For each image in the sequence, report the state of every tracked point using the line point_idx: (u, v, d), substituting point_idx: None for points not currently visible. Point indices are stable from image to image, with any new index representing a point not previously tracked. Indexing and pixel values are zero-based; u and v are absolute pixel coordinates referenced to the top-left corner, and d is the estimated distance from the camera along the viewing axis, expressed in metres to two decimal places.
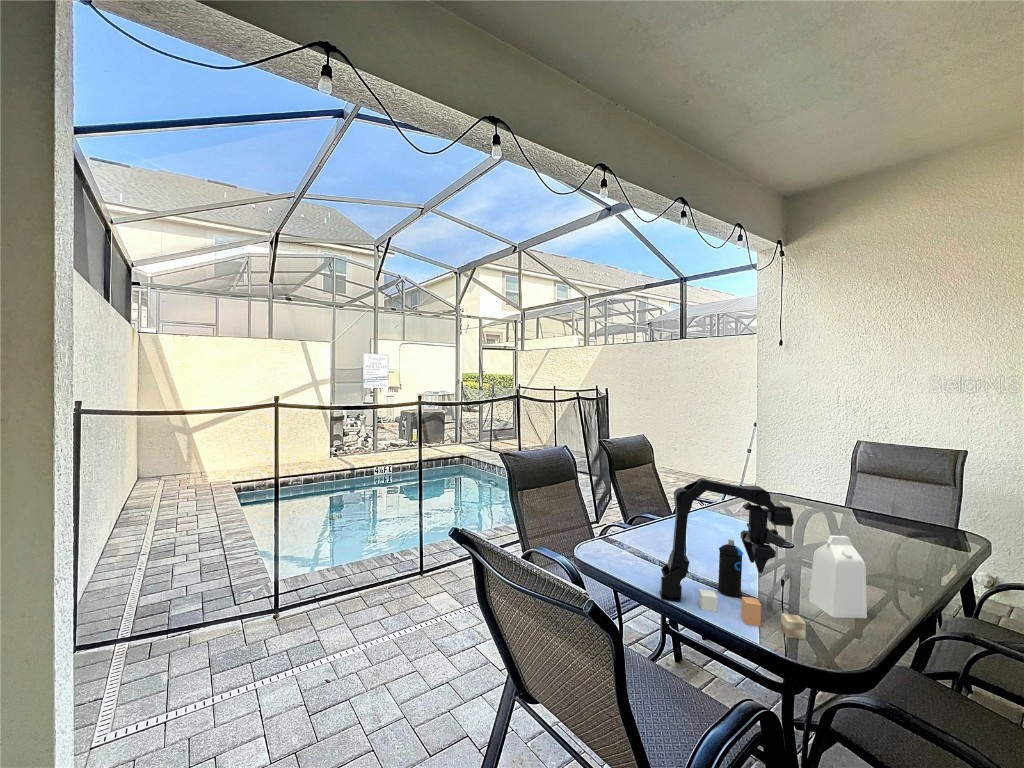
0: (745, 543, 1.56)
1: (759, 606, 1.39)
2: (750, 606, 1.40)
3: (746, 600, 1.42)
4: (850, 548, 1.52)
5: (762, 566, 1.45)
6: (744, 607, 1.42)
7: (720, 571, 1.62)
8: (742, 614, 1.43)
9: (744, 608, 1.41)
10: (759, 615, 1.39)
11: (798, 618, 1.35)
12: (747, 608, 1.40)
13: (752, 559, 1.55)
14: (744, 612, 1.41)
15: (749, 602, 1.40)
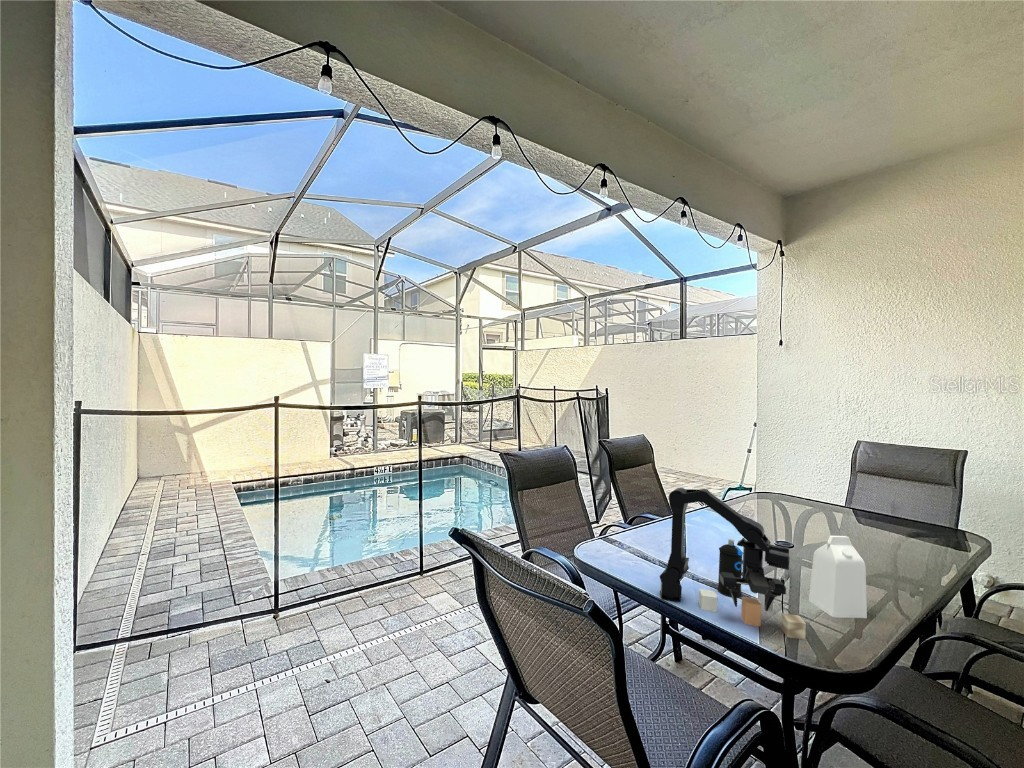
0: None
1: (759, 606, 1.39)
2: (750, 606, 1.40)
3: (746, 600, 1.42)
4: (850, 548, 1.52)
5: (733, 598, 1.43)
6: (744, 607, 1.42)
7: (720, 571, 1.62)
8: (742, 614, 1.43)
9: (744, 608, 1.41)
10: (759, 615, 1.39)
11: (798, 618, 1.35)
12: (747, 608, 1.40)
13: (765, 607, 1.41)
14: (744, 612, 1.41)
15: (749, 602, 1.40)
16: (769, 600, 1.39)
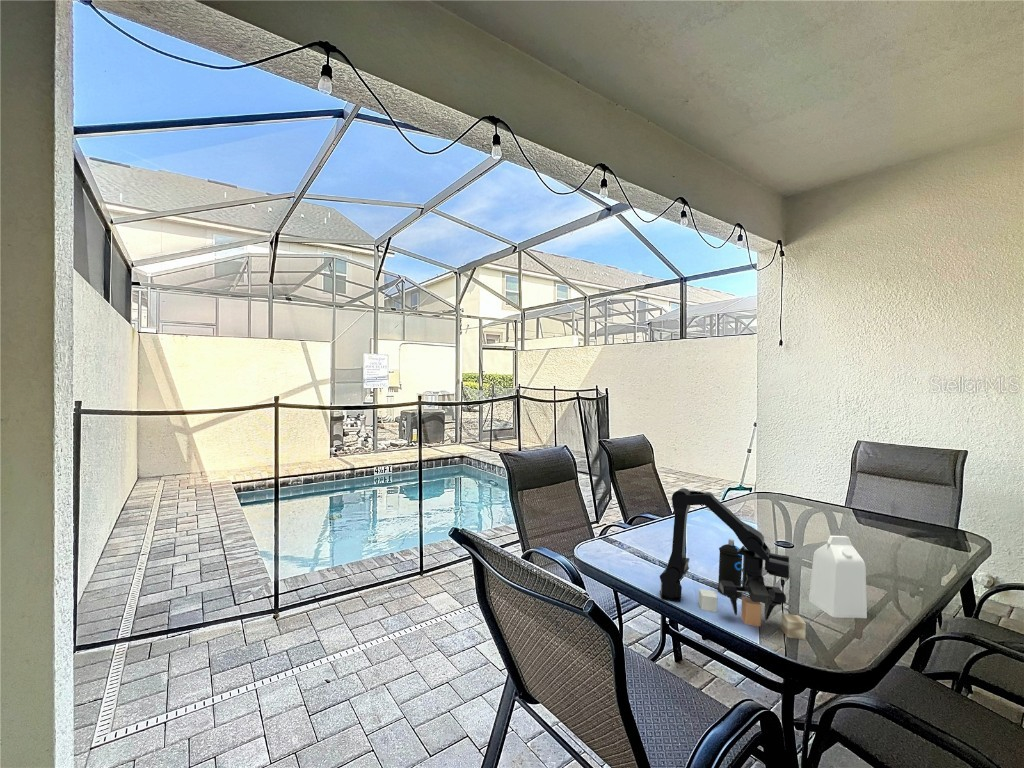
0: None
1: (759, 606, 1.39)
2: (750, 606, 1.40)
3: (746, 600, 1.42)
4: (850, 548, 1.52)
5: (733, 607, 1.43)
6: (744, 607, 1.42)
7: (720, 571, 1.62)
8: (742, 614, 1.43)
9: (744, 608, 1.41)
10: (759, 615, 1.39)
11: (798, 618, 1.35)
12: (747, 608, 1.40)
13: (765, 615, 1.41)
14: (744, 612, 1.41)
15: (749, 602, 1.40)
16: (769, 609, 1.39)
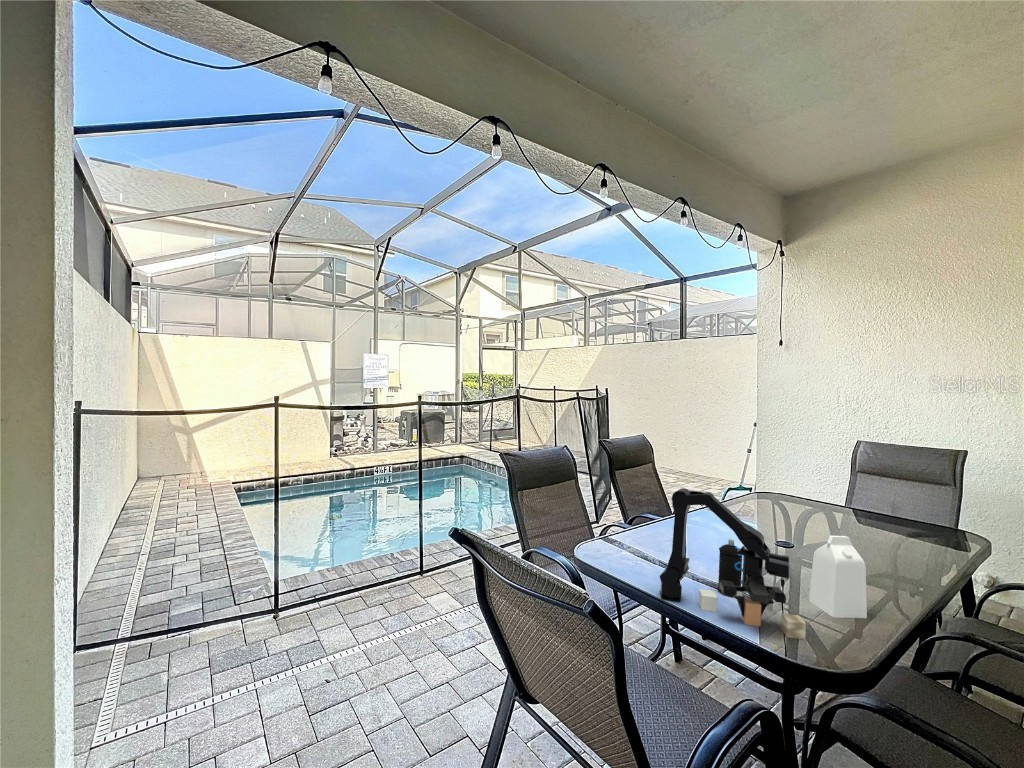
0: None
1: (759, 606, 1.39)
2: (750, 606, 1.40)
3: (746, 600, 1.42)
4: (850, 548, 1.52)
5: (740, 608, 1.42)
6: (744, 607, 1.42)
7: (720, 571, 1.62)
8: None
9: (744, 608, 1.41)
10: (759, 615, 1.39)
11: (798, 618, 1.35)
12: (747, 608, 1.40)
13: None
14: (744, 612, 1.41)
15: (749, 602, 1.40)
16: (762, 608, 1.40)
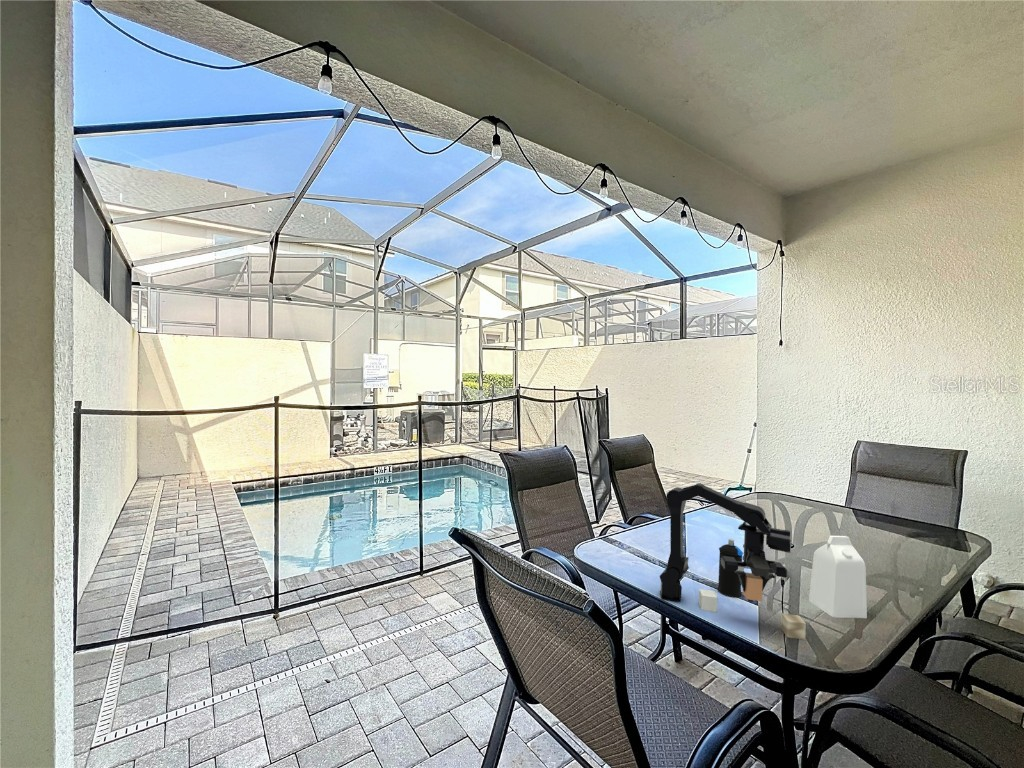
0: None
1: (760, 581, 1.39)
2: (751, 581, 1.40)
3: (747, 575, 1.42)
4: (850, 548, 1.52)
5: (741, 583, 1.42)
6: (745, 582, 1.42)
7: (720, 571, 1.62)
8: None
9: (746, 583, 1.41)
10: (760, 590, 1.39)
11: (798, 618, 1.35)
12: (748, 583, 1.40)
13: None
14: None
15: (750, 577, 1.40)
16: (763, 582, 1.40)
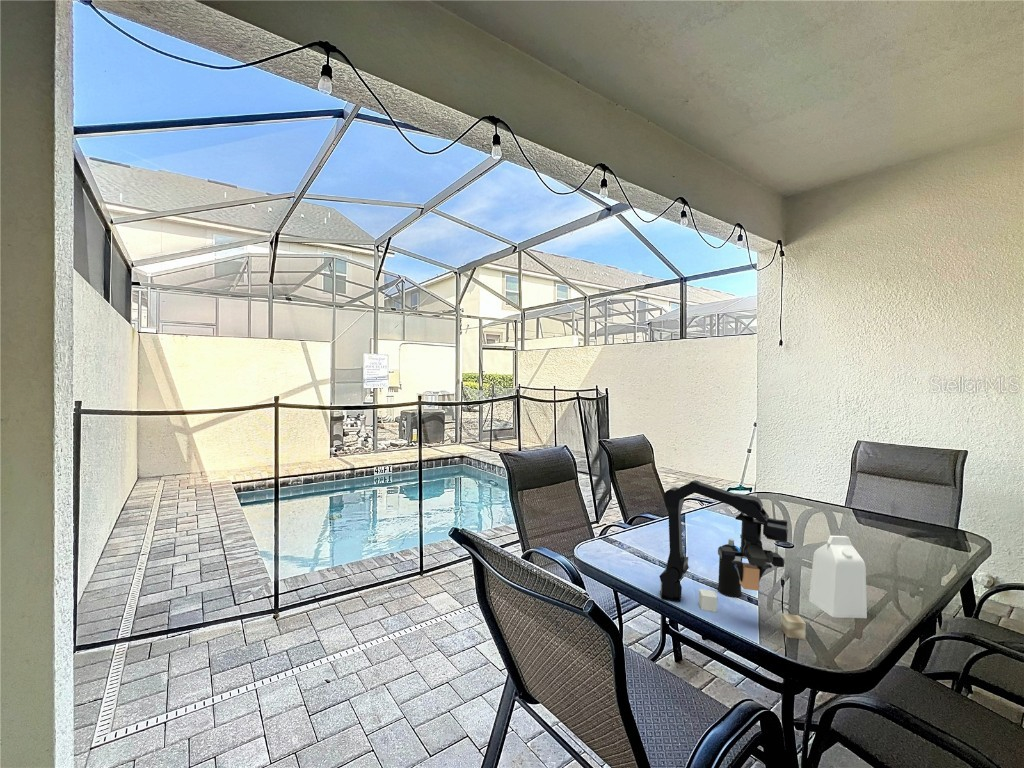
0: None
1: (757, 570, 1.39)
2: (748, 571, 1.40)
3: (744, 565, 1.42)
4: (850, 548, 1.52)
5: (738, 573, 1.42)
6: (742, 572, 1.42)
7: (720, 571, 1.62)
8: None
9: (743, 573, 1.41)
10: (757, 579, 1.39)
11: (798, 618, 1.35)
12: (745, 572, 1.40)
13: None
14: None
15: (747, 567, 1.41)
16: (760, 572, 1.40)
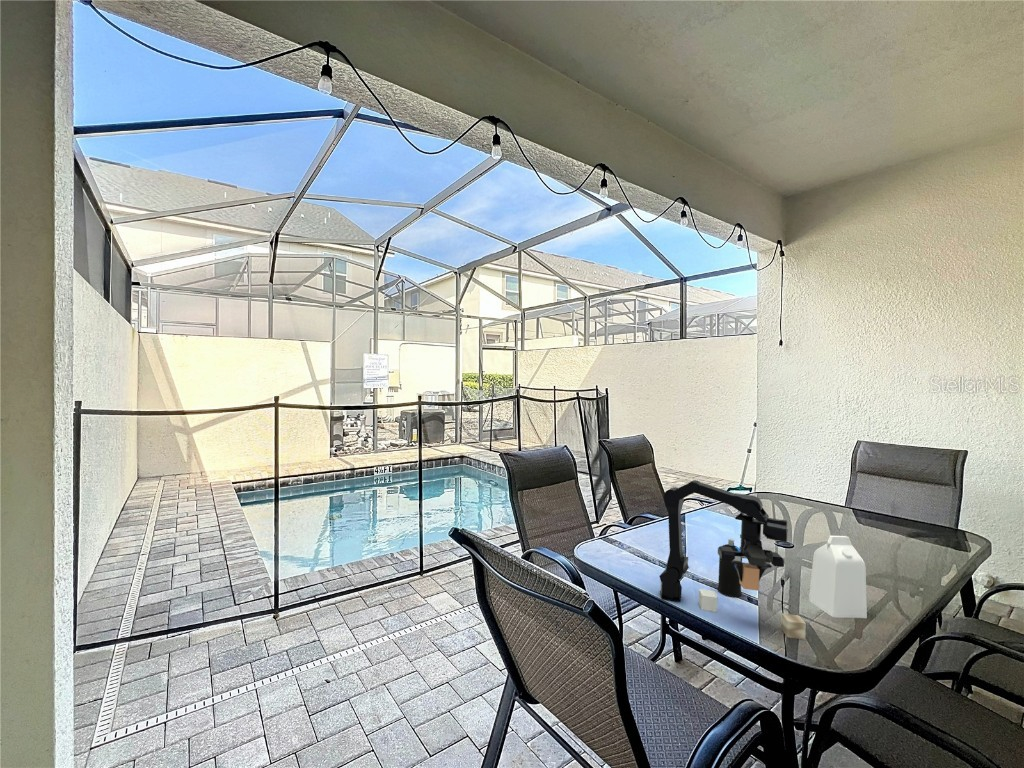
0: None
1: (757, 570, 1.39)
2: (748, 571, 1.40)
3: (744, 565, 1.42)
4: (850, 548, 1.52)
5: (738, 573, 1.42)
6: (742, 572, 1.42)
7: (720, 571, 1.62)
8: None
9: (743, 573, 1.41)
10: (757, 579, 1.39)
11: (798, 618, 1.35)
12: (745, 572, 1.40)
13: None
14: None
15: (747, 567, 1.41)
16: (760, 572, 1.40)
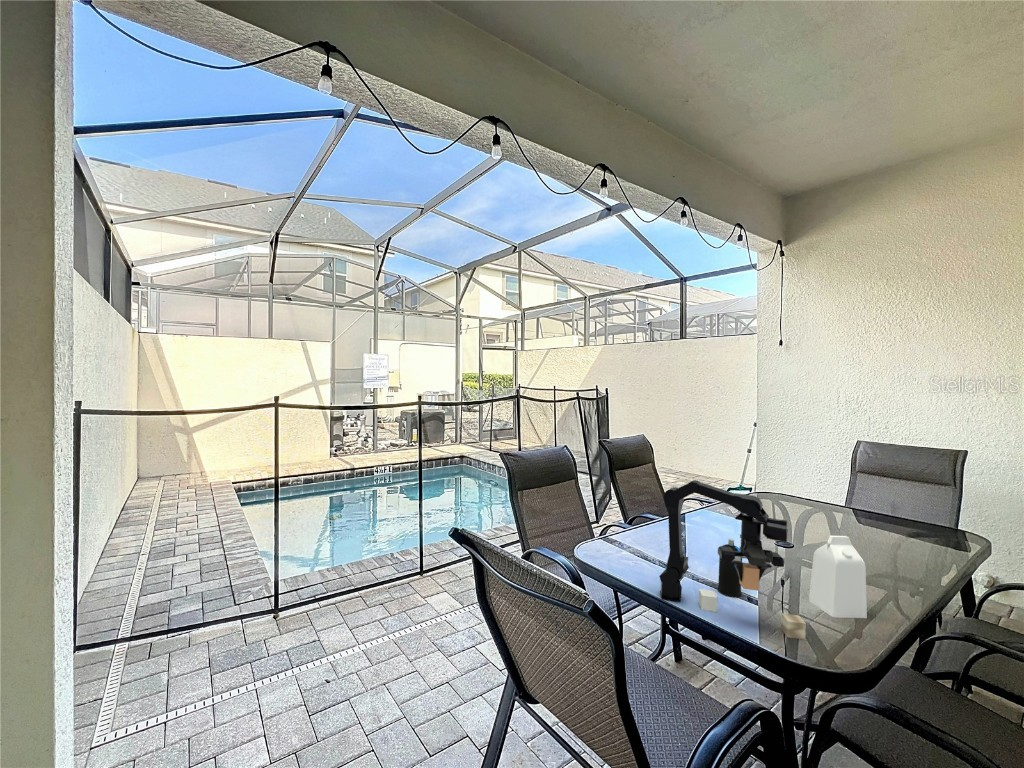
0: None
1: (757, 570, 1.39)
2: (748, 571, 1.40)
3: (744, 565, 1.42)
4: (850, 548, 1.52)
5: (738, 573, 1.42)
6: (742, 572, 1.42)
7: (720, 571, 1.62)
8: None
9: (743, 573, 1.41)
10: (757, 579, 1.39)
11: (798, 618, 1.35)
12: (745, 572, 1.40)
13: None
14: None
15: (747, 567, 1.41)
16: (760, 572, 1.40)
